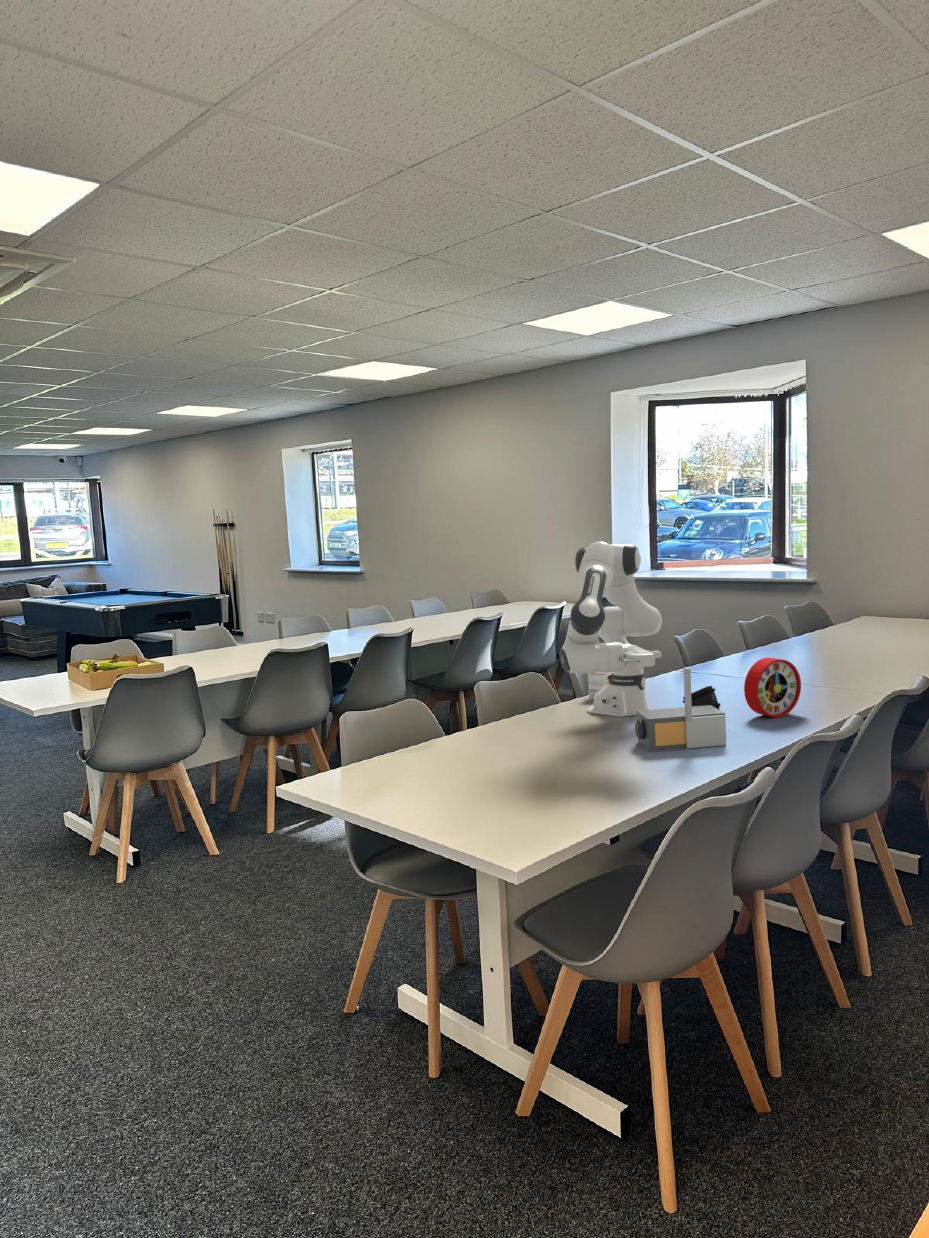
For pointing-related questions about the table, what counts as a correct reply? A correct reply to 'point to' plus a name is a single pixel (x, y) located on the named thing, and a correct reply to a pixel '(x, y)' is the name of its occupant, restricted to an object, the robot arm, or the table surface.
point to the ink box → (597, 682)
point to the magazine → (704, 697)
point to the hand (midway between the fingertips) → (660, 654)
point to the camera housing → (667, 726)
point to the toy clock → (772, 687)
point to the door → (701, 722)
